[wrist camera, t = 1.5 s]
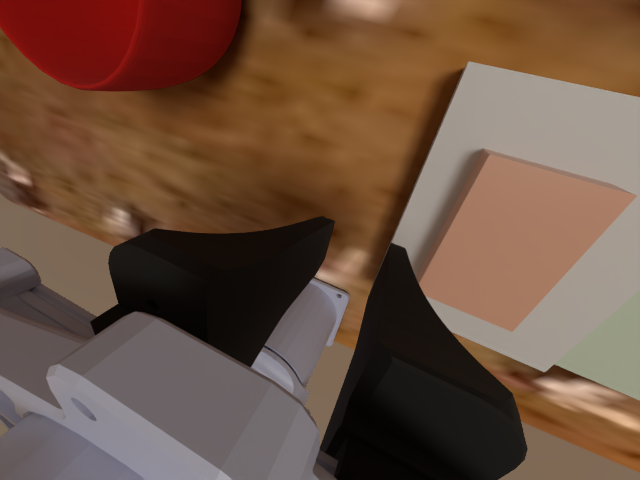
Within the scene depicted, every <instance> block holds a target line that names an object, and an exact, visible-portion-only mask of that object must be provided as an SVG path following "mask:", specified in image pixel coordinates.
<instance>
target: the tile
mask: <svg viewBox="0 0 640 480" xmlns="http://www.w3.org/2000/svg"><path fill="white" fill-rule="evenodd" d="M636 197H637V195H635V194H632V193H630V192H628V191H626V190H624V189H622V188H619V187H617V186H615V185H613V184H610V183H606V182H603V181H599V180H596V179H592V178H588V177H585V176H581V175H578V174H574V173H570V172H567V171H563V170H560V169H556V168H552V167H549V166H545V165H541V164H538V163H534V162H531V161H527V160H523V159H520V158H516V157H513V156H509V155H505V154H502V153H498V152H495V151H491V150H487V149H483V151H482V153H481V154H480V156H479V158H478V160H477V162H476V164H475V166H474V168H473V170H472V171H471V173H470V175H469V177H468V179H467V181H466V183H465V185H464V187H463V189H462V190H461V192H460V194H459V196H458V198H457V200H456V202H455V204H454V206H453V207H452V209H451V211H450V213H449V215H448V217H447V219H446V221H445V223H444V224H443V226H442V228H441V230H440V232H439V234H438V236H437V238H436V240H435V241H434V243H433V245H432V247H431V249H430V251H429V253H428V255H427V257H426V259H425V260H424V262H423V264H422V266H421V268H420V270H419V272H418V274H417V277H416V279H417V281H418V283H419V285H420V287H421V289H422V291H423V293H424V295H425V296H426V297H429V298H431V299H434V300H436V301H439V302H441V303H443V304H446V305H448V306H451V307H453V308H455V309H458V310H460V311H463V312H465V313H467V314H470V315H472V316H475V317H477V318H480V319H482V320H484V321H487V322H489V323H492V324H494V325H496V326H499V327H501V328H504V329H506V330H508V331H511V332H513V331H514V330H515V329H516V328H517V326H518V325H519V324H520V323H521V322H522V321H523V320H524V319H525V318H526V317H527V316H528V314H529V313H530V312H531V311H532V310H533V309H534V308H535V307H536V306H537V305H538V304H539V302H540V301H541V300H542V299H543V298H544V297H545V296H546V295H547V294H548V293H549V292H550V290H551V289H552V288H553V287H554V286H555V285H556V284H557V283H558V282H559V281H560V280H561V278H562V277H563V276H564V275H565V274H566V273H567V272H568V271H569V270H570V269H571V268H572V266H573V265H574V264H575V263H576V262H577V261H578V260H579V259H580V258H581V257H582V256H583V255H584V253H585V252H586V251H587V250H588V249H589V248H590V247H591V246H592V245H593V244H594V243H595V241H596V240H597V239H598V238H599V237H600V236H601V235H602V234H603V233H604V232H605V231H606V229H607V228H608V227H609V226H610V225H611V224H612V223H613V222H614V221H615V220H616V219H617V217H618V216H619V215H620V214H621V213H622V212H623V211H624V210H625V209H626V208H627V207H628V205H629V204H630V203H631V202H632V201H633V200H634V199H635V198H636Z"/></svg>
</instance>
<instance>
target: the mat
mask: <svg viewBox="0 0 640 480" xmlns="http://www.w3.org/2000/svg"><path fill="white" fill-rule="evenodd" d="M555 365H557V366H560V367H562V368H564V369H567V370H569V371H571V372H574V373H576V374H579V375H581V376H583V377H586V378H588V379H590V380H593V381H595V382H597V383H600V384H602V385H604V386H607V387H609V388H611V389H614V390H616V391H618V392H621V393H623V394H626V395H628V396H630V397H633V398H635V399H637V400H640V291H638V292H637V293H636V294H635V295H634V296H633V297H631V298H630V299H629V300H628V301H627V302H626V303H624V304H623V305H622V306H621V307H620V308H619V309H617V310H616V311H615V312H614V313H613V314H612V315H610V316H609V317H608V318H607V319H606V320H605V321H604V322H602V323H601V324H600V325H599V326H598V327H597V328H595V329H594V330H593V331H592V332H591V333H590V334H588V335H587V336H586V337H585V338H584V339H583V340H581V341H580V342H579V343H578V344H577V345H576V346H575V347H573V348H572V349H571V350H570V351H569V352H568V353H566V354H565V355H564V356H563V357H562V358H561V359H559V360H558V361H557V362H556V363H555Z"/></svg>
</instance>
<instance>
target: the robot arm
mask: <svg viewBox="0 0 640 480" xmlns="http://www.w3.org/2000/svg"><path fill="white" fill-rule="evenodd" d="M334 223H335V221H333V220H331V219H328V218H325V217H323V216H321V217H317V218H313V219H310V220H306V221H303V222H299V223H296V224H292V225H288V226H284V227H280V228H275V229H270V230H264V231H257V232H248V233H229V234H209V233H191V232H181V231H172V230H163V229H156V228H155V229H152V230H150V231H148V232H146V233H144V234H141V235H139V236H137V237H135V238H132V239H130V240H128V241H126V242H124V243H121V244H119V245H117V246H115V247H114V248H113V249H112V251H111V252H110V256H109V262H108V264H109V270H110V275H111V278H112V282H113V285H114V289H115V293H116V296H117V300H118V303H119V304H117V305H116V306H114V307H113V308H111V309H109V310H108V311H106V312H104V313H103V314H101V315H100V316H98V317H96V316H95V315H93V314H91V313H90V312H88V311H86V310H85V309H83V308H81V307H79V306H78V305H76V304H74V303H73V302H71V301H70V300H68V299H66V298H65V297H63V296H61V295H59V294H58V293H56V292H54V291H53V290H51V289H49V288H48V287H46V286H44V285H43V284H41V279H40V276H39V274H38V272H37V270H36V269H35V267H34V266H33V265H32V264H31V263H30V262H29V261H28V260H26V259H25V258H23V257H21V256H19V255H18V254H16V253H14V252H13V251H11V250H9V249H7V248H3V247H2V248H0V423H2V424H3V425H4V426H5V427H6V428H8V429H9V430H8V431H7V432H6V433H5V434H3V435H2V436H0V480H498V479H500V478H501V477H503V476H504V475H506V474H508V473H509V472H511V471H512V470H514V469H515V468H517V467H518V466H519V465H520V464H521V463H522V462H523V461H524V460H525V456H526V452H527V445H526V441H525V438H524V433H523V428H522V424H521V420H520V415H519V412H518V409H517V406H516V403H515V400H514V397H513V394H512V392H510V391H509V390H508V389H507V388H506V387H505V386H504V385H503V384H502V383H501V382H499V381H498V380H497V379H496V378H495V377H494V376H493V375H492V374H491V373H490V372H489V371H487V370H486V369H485V368H484V367H483V366H482V365H481V364H480V363H479V362H478V361H477V360H476V359H475V358H474V357H473V356H472V355H471V354H470V353H469V352H468V351H467V350H466V349H465V348H464V347H463V346H462V344H461V343H460V342H459V341H458V340H457V339H456V338H455V336H454V335H453V334H452V333H451V332H450V330H449V329H448V328H447V327H446V325H445V324H444V323H443V322H442V320H441V319H440V318H439V316H438V315H437V314H436V312H435V311H434V309H433V308H432V306H431V304H430V303H429V301H428V300H427V298H426V296H425V295H424V293H423V291H422V289H421V287H420V285H419V283H418V281H417V279H416V276H415V274H414V271H413V269H412V266H411V263H410V260H409V257H408V254H407V251H406V248H404V247H401V246H399V245H396V244H394V243H390V245H389V248H388V250H387V253H386V255H385V257H384V260H383V262H382V264H381V267H380V269H379V271H378V274H377V276H376V278H375V281H374V284H373V286H372V289H371V291H370V294H369V297H368V300H367V304H366V308H365V312H364V316H363V321H362V325H361V329H360V333H359V337H358V341H357V345H356V348H355V352H354V355H353V358H352V360H351V363H350V366H349V369H348V372H347V374H346V378H345V380H344V383H343V386H342V388H341V391H340V394H339V397H338V400H337V402H336V405H335V408H334V411H333V414H332V416H331V419H330V422H329V424H328V427H327V430H326V433H325V435H324V438H323V441H322V444H321V446H320V445H319V430H318V427H317V425H316V423H315V421H314V419H313V418H312V416H311V414H310V411H309V410H308V409H306V408H305V407H304V404H305V402H306V399H307V397H308V395H309V392H308V391H307V390H306V389H305V388H306V386H307V384H308V382H309V379H310V377H311V375H312V373H313V370H314V369H315V366H316V364H317V362H318V360H319V358H320V356H321V354H322V351H323V349H324V347H325V345H326V346H331V345H332V343H333V341H334V338H335V335H336V333H337V330H338V327H339V325H340V322H341V319H342V317H343V314H344V311H345V309H346V306H347V303H348V301H349V298H350V296H349V294H348V293H346V292H344V291H342V290H340V289H337V288H335V287H333V286H330V285H328V284H326V283H324V282H321V281H319V280H317V279H315V278H313V277H314V276H315V275H316V273H317V271H318V270H319V268H320V266H321V265H322V263H323V261H324V259H325V256H326V252H327V249H328V245H329V242H330V238H331V234H332V231H333V227H334ZM338 294H340V295H341V296H339V295H338Z"/></svg>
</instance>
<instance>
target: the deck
mask: <svg viewBox="0 0 640 480" xmlns="http://www.w3.org/2000/svg"><path fill="white" fill-rule="evenodd" d="M483 149H487V150H491V151H495V152H498V153H502V154H505V155H509V156H513V157H516V158H520V159H523V160H527V161H531V162H534V163H538V164H541V165H545V166H549V167H552V168H556V169H560V170H563V171H567V172H570V173H574V174H578V175H581V176H585V177H588V178H592V179H596V180H599V181H603V182H606V183H610V184H613V185H615V186H617V187H619V188H622V189H624V190H626V191H628V192H630V193H632V194H635V195H637V197H636V198H635V199H634V200H633V201H632V202H631V203H630V204H629V205H628V207H627V208H626V209H625V210H624V211H623V212H622V213H621V214H620V215H619V216H618V217H617V219H616V220H615V221H614V222H613V223H612V224H611V225H610V226H609V227H608V228H607V229H606V231H605V232H604V233H603V234H602V235H601V236H600V237H599V238H598V239H597V240H596V241H595V243H594V244H593V245H592V246H591V247H590V248H589V249H588V250H587V251H586V252H585V253H584V255H583V256H582V257H581V258H580V259H579V260H578V261H577V262H576V263H575V264H574V265H573V266H572V268H571V269H570V270H569V271H568V272H567V273H566V274H565V275H564V276H563V277H562V278H561V280H560V281H559V282H558V283H557V284H556V285H555V286H554V287H553V288H552V289H551V290H550V292H549V293H548V294H547V295H546V296H545V297H544V298H543V299H542V300H541V301H540V302H539V304H538V305H537V306H536V307H535V308H534V309H533V310H532V311H531V312H530V313H529V314H528V316H527V317H526V318H525V319H524V320H523V321H522V322H521V323H520V324H519V325H518V326H517V328H516V329H515V330H514V331H513V332H511V331H508V330H506V329H504V328H501V327H499V326H496V325H494V324H492V323H489V322H487V321H484V320H482V319H480V318H477V317H475V316H472V315H470V314H467V313H465V312H463V311H460V310H458V309H455V308H453V307H451V306H448V305H446V304H443V303H441V302H439V301H436V300H434V299H431V298H429V297H426V298H427V300H428V301H429V303H430V304H431V306H432V308H433V309H434V311H435V312H436V314H437V315H438V316H439V318H440V319H441V320H442V322H443V323H444V324H445V325H446V327H447V328H448V329H449V330H450V331H451V332H453V333H456V334H458V335H460V336H462V337H465V338H467V339H469V340H472V341H474V342H476V343H479V344H481V345H483V346H485V347H488V348H490V349H492V350H495V351H497V352H499V353H502V354H504V355H506V356H508V357H511V358H513V359H515V360H518V361H520V362H522V363H524V364H527V365H529V366H531V367H534V368H536V369H538V370H541V371H543V372H545V371H547V370H548V369H549V368H550V367H551V366H552V365H554V364H555V363H556V362H557V361H558V360H559V359H561V358H562V357H563V356H564V355H565V354H566V353H568V352H569V351H570V350H571V349H572V348H573V347H575V346H576V345H577V344H578V343H579V342H580V341H581V340H583V339H584V338H585V337H586V336H587V335H588V334H590V333H591V332H592V331H593V330H594V329H595V328H597V327H598V326H599V325H600V324H601V323H602V322H604V321H605V320H606V319H607V318H608V317H609V316H610V315H612V314H613V313H614V312H615V311H616V310H617V309H619V308H620V307H621V306H622V305H623V304H624V303H626V302H627V301H628V300H629V299H630V298H631V297H633V296H634V295H635V294H636V293H637V292H638V291H640V97H635V96H630V95H626V94H621V93H616V92H611V91H607V90H602V89H597V88H592V87H588V86H583V85H578V84H573V83H569V82H564V81H559V80H554V79H550V78H545V77H540V76H535V75H531V74H526V73H521V72H516V71H512V70H507V69H502V68H497V67H493V66H488V65H483V64H478V63H474V62H468V63H467V64H466V66H465V67H464V69H463V71H462V74H461V76H460V78H459V81H458V83H457V85H456V88H455V90H454V92H453V95H452V97H451V100H450V102H449V104H448V107H447V109H446V111H445V114H444V116H443V119H442V121H441V123H440V126H439V128H438V130H437V133H436V135H435V137H434V140H433V142H432V145H431V147H430V149H429V152H428V154H427V156H426V159H425V161H424V163H423V166H422V168H421V171H420V173H419V175H418V178H417V180H416V182H415V185H414V187H413V190H412V192H411V194H410V197H409V199H408V201H407V204H406V206H405V208H404V211H403V213H402V216H401V218H400V220H399V223H398V225H397V227H396V230H395V232H394V234H393V237H392V239H391V242H390V243H394V244H396V245H399V246H401V247H404V248H406V251H407V254H408V257H409V260H410V263H411V266H412V269H413V271H414V274H415V276H416V277H417V274H418V272H419V270H420V268H421V266H422V264H423V262H424V260H425V259H426V257H427V255H428V253H429V251H430V249H431V247H432V245H433V243H434V241H435V240H436V238H437V236H438V234H439V232H440V230H441V228H442V226H443V224H444V223H445V221H446V219H447V217H448V215H449V213H450V211H451V209H452V207H453V206H454V204H455V202H456V200H457V198H458V196H459V194H460V192H461V190H462V189H463V187H464V185H465V183H466V181H467V179H468V177H469V175H470V173H471V171H472V170H473V168H474V166H475V164H476V162H477V160H478V158H479V156H480V154H481V153H482V151H483ZM389 245H390V244H389ZM388 248H389V246H388ZM387 250H388V249H387ZM386 253H387V251H386ZM386 253H385V255H386ZM384 257H385V256H384ZM383 260H384V258H383ZM382 262H383V261H382ZM381 264H382V263H381ZM380 267H381V265H380ZM379 269H380V268H379ZM378 271H379V270H378ZM377 274H378V272H377ZM376 276H377V275H376ZM375 278H376V277H375ZM374 281H375V280H374ZM373 284H374V283H373ZM371 289H372V288H371Z"/></svg>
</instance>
